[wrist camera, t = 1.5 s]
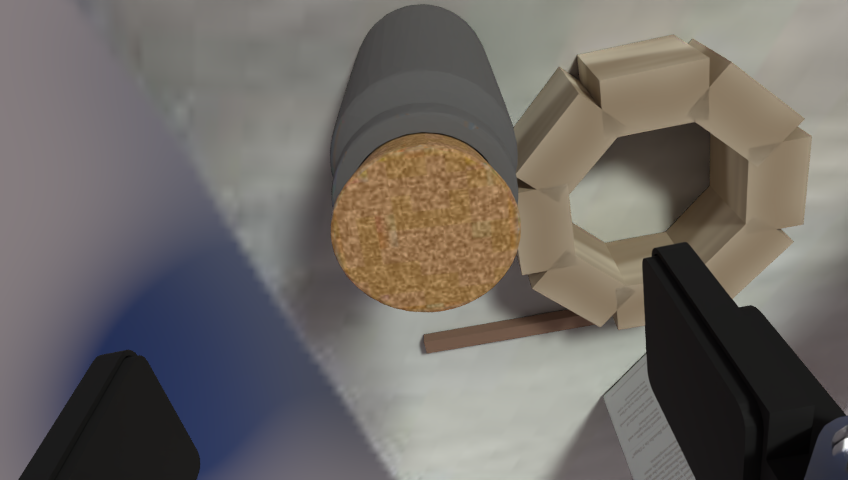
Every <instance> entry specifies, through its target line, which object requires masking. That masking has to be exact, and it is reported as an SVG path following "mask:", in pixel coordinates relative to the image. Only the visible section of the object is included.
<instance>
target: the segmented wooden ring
mask: <svg viewBox="0 0 848 480" xmlns="http://www.w3.org/2000/svg"><path fill="white" fill-rule="evenodd" d="M577 58H578V69H579V80H580V81H579V80H578V79H576V78H575V77H573V76H572V75H571V74H569V73H568V72H566V71H565V70H563V69H562V68H560V67H559V68H558V69H557V70H556V72H555V73H554V74H553V76H552V77H551V78H550V80H549V81H548V82H547V84H546V85H545V86H544V88H543V89H542V90H541V92H540V93H539V94H538V96H537V97H536V98H535V100H534V101H533V102H532V104H531V105H530V106H529V108H528V109H527V110H526V112H525V113H524V114H523V116H522V117H521V118H520V120H519V121H518V122H517V124H516V125H515V126H514V128H513V129H514V132H515V136H516V141H517V151H518V164H517V169H516V177H517V183H518V209H519V214H520V218H521V238H520V242H519V246H518V250H517V257H518V261H519V265H520V269H521V273H522V275H527V274H528V276H529V280H530V283H531V287H532V289H533V290H535V291H537V292H539V293H541V294H542V295H544V296H546V297H548V298H549V299H551V300H553V301H555V302H557V303H558V304H560V305H562V306H564V307H565V308H567V309H569V310H571V311H572V312H574V313H576V314H578V315H580V316H581V317H583V318H585V319H587V320H588V321H590V322H592V323H594V324H596V325H597V326H599V327H601V326H602V325H603V324H604V323H605V322H606V321H607V320H608V319H609V318H610V317H611V316H612V317H613V319H614V321H615V323H616V326H617V328H618V330H621V329H627V328H633V327H639V326H644V325H645V313H644V293H643V272H642V261H643V259H644V258H647V257H652V250H653V249H654V248H656V247H661V246H666V245H671V244H677V243H682V242H687V243H688V244H689V245H690V246H691V247H692V248H693V250H694V251H695V252H696V253H697V255H698V256H699V257H700V259H701V260H702V261H703V262H704V264H705V265H706V266H707V267H708V269H709V270H710V271H711V273H712V274H713V275H714V276H715V278H716V279H717V280H718V282H719V283H720V284H721V285H722V287H723V288H724V289H725V291H726V292H727V293H728V294H729V296H730V297H731V298H732V299H733V298H734V297H735V296H736V295H737V294H738V293H739V292H740V291H741V290H742V289H744V288H745V287H746V286H747V285H748V284H749V283H750V282H751V281H752V280H753V279H754V278H755V277H756V276H758V275H759V274H760V273H761V272H762V271H763V270H764V269H765V268H766V267H767V266H768V265H769V264H770V263H772V262H773V261H774V260H775V259H776V258H777V257H778V256H779V255H780V254H781V253H782V252H783V251H784V250H786V249H787V248H788V247H789V246H790V245H791V244H792V243H793V242H794V241H792V240H791V239H790V238H789V237H788V236H787V235H786V234H785V233H784V232H783V231H782V230H781V228H786V227H792V226H797V225H803V223H804V213H805V202H806V192H807V182H808V171H809V161H810V151H811V141H812V136H811V135H809V134H808V133H806V132H805V131H803V130H802V129H800V128H799V127H797V126H798V125H799V124H800V123H801V122H802V121H803V120H804V118H803V117H802V116H801V115H799V114H798V113H797V112H795V111H794V110H793V109H792V108H790V107H789V106H788V105H786V104H785V103H784V102H783V101H781V100H780V99H779V98H777V97H776V96H775V95H773V94H772V93H771V92H770V91H768V90H767V89H766V88H764V87H763V86H762V85H761V84H759V83H758V82H757V81H755V80H754V79H753V78H752V77H750V76H749V75H748V74H746V73H745V72H744V71H743V70H741V69H740V68H739V67H737V66H736V65H735V64H733V63H732V62H731V61H729V60H727V59H726V58H724V57H722V56H721V55H719V54H717V53H716V52H714V51H713V50H711V49H709V48H708V47H706V46H704V45H703V44H701V43H699V42H698V41H696V40H694V39H692V40H691V41H690V42H689V44H687V43H686V42H684V41H682V40H681V39H679V38H678V37H676V36H675V35H669V36H665V37H660V38H655V39H651V40H646V41H641V42H636V43H632V44H627V45H622V46H618V47H613V48H608V49H603V50H599V51H594V52H589V53H585V54H580V55H577ZM691 122H696V123H697V124H699V125H700V126H702V127H703V128H704V129H706V130H707V131H709V132H710V186H709V187H708V188H707V189H706V190H705V191H704V192H703V193H702V194H701V195H700V196H699V197H698V198H697V200H696V201H695V202H694V203H693V204H692V205H691V206H690V207H689V208H688V209H687V210H686V211H685V212H684V213H683V214H682V215H681V216H680V217H679V218H678V219H677V220H676V222H675V223H674V224H673V225H672V226H671V227H670V228H669V229H668V230H667V231H666V232H662V233H656V234H651V235H646V236H640V237H635V238H629V239H624V240H618V241H613V242H607V243H604V242H603V241H601V240H599V239H598V238H596V237H595V236H593V235H591V234H590V233H588V232H586V231H585V230H583V229H582V228H580V227H578V226H577V225H575V224H573V223H572V219H571V210H570V200H569V194H570V193H571V192H572V191H573V189H574V188H575V187H576V186H577V185H578V184H579V182H580V181H581V180H582V179H583V178H584V176H585V175H586V174H587V173H588V172H589V170H590V169H591V168H592V167H593V166H594V165H595V163H596V162H597V161H598V160H599V159H600V157H601V156H602V155H603V154H604V153H605V151H606V150H607V149H608V148H609V147H610V146H611V144H612V143H613V142H614V141H615V140H616V138H617V137H621V136H626V135H631V134H636V133H641V132H646V131H651V130H656V129H661V128H666V127H671V126H676V125H681V124H686V123H691Z"/></svg>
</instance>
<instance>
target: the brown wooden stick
mask: <svg viewBox="0 0 848 480" xmlns="http://www.w3.org/2000/svg"><path fill="white" fill-rule="evenodd" d="M605 323H606V322H605ZM590 325H595V324H594V323H592V322H590V321H588V320H587V319H585V318H583V317H581V316H580V315H578V314H576V313H574V312H572V311H571V310H569V309H567V310H562V311H556V312H550V313H545V314H539V315H533V316H527V317H522V318H516V319H510V320H505V321H499V322H493V323H487V324H482V325H476V326H470V327H464V328H459V329H453V330H447V331H442V332H436V333H430V334H424V344H425V348H426V352H427V353H432V352H438V351H444V350H450V349H456V348H462V347H467V346H473V345H479V344H485V343H491V342H496V341H502V340H508V339H514V338H520V337H526V336H531V335H537V334H543V333H549V332H555V331H560V330H566V329H572V328H578V327H584V326H590Z"/></svg>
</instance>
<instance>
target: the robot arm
mask: <svg viewBox="0 0 848 480" xmlns="http://www.w3.org/2000/svg"><path fill="white" fill-rule="evenodd" d="M642 272H643V293H644V313H645V334H646V354H647V372H648V378H649V382H650V385H651V388H652V391H653V393H654V395H655V397H656V399H657V401H658V403H659V405H660V407H661V409H662V411H663V413H664V416H665V418H666V420H667V422H668V424H669V426H670V428H671V430H672V432H673V434H674V436H675V438H676V440H677V442H678V444H679V446H680V448H681V450H682V452H683V455H684V457H685V459H686V461H687V463H688V465H689V467H690V469H691V471H692V473H693V475H694V477H695V479H696V480H848V416H846V414H845V413H844V412H843V411H842V410H841V408H840V407H839V406H838V405H837V404H836V402H835V401H834V400H833V399H832V397H831V396H830V395H829V394H828V393H827V391H826V390H825V389H824V388H823V387H822V385H821V384H820V383H819V382H818V380H817V379H816V378H815V377H814V376H813V374H812V373H811V372H810V371H809V370H808V368H807V367H806V366H805V365H804V363H803V362H802V361H801V360H800V359H799V357H798V356H797V355H796V354H795V353H794V351H793V350H792V349H791V348H790V346H789V345H788V344H787V343H786V342H785V340H784V339H783V338H782V337H781V336H780V334H779V333H778V332H777V331H776V329H775V328H774V327H773V326H772V325H771V323H770V322H769V321H768V320H767V319H766V317H765V316H764V315H763V314H762V313H761V312H760V311H759V310H758V309H757V308H756V307H754V306H751V305H750V306H745V307H738V306H737V305H736V303H735V302H734V301H733V300H732V298H731V297H730V296H729V294H728V293H727V292H726V291H725V289H724V288H723V287H722V285H721V284H720V283H719V282H718V280H717V279H716V278H715V276H714V275H713V274H712V273H711V271H710V270H709V269H708V267H707V266H706V265H705V264H704V262H703V261H702V260H701V259H700V257H699V256H698V255H697V253H696V252H695V251H694V250H693V248H692V247H691V246H690V245H689V244H688V243H687V242H682V243H677V244H671V245H666V246H661V247H656V248H654V249H653V250H652V257H647V258H644V259H643V261H642ZM199 469H200V458H199V454H198V451H197V449H196V447H195V446H194V444H193V442H192V440H191V438H190V437H189V435H188V433H187V431H186V429H185V428H184V426H183V424H182V422H181V420H180V419H179V417H178V415H177V413H176V411H175V410H174V408H173V406H172V404H171V403H170V401H169V399H168V397H167V395H166V394H165V392H164V390H163V388H162V386H161V385H160V383H159V381H158V379H157V377H156V376H155V374H154V372H153V370H152V368H151V367H150V365H149V363H148V361H147V360H146V359H145V357H143V356H140V355H139V356H137V354H136V353H135V352H133V351H131V350H125V351H119V352H114V353H109V354H104V355H100V356H98V357H96V359H95V360H94V361H93V363H92V364H91V366H90V367H89V369H88V370H87V372H86V374H85V375H84V377H83V378H82V380H81V382H80V383H79V385H78V386H77V388H76V389H75V391H74V393H73V394H72V396H71V397H70V399H69V401H68V402H67V404H66V405H65V407H64V408H63V410H62V412H61V413H60V415H59V416H58V418H57V419H56V421H55V423H54V425H53V426H52V428H51V429H50V431H49V432H48V434H47V435H46V437H45V439H44V440H43V442H42V443H41V445H40V446H39V448H38V450H37V451H36V453H35V454H34V456H33V458H32V459H31V461H30V462H29V464H28V465H27V467H26V469H25V470H24V472H23V473H22V475H21V476H20V478H19V480H196V479H197V476H198V473H199Z"/></svg>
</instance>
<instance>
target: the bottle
mask: <svg viewBox="0 0 848 480" xmlns="http://www.w3.org/2000/svg"><path fill="white" fill-rule="evenodd" d="M330 161H331V172H332V176H333V183H332V191H331V192H332V207H333V212H332V217H331V240H332V245H333V250H334V253H335V256H336V258H337V260H338V262H339V264H340V266H341V268H342V269H343V271H344V272H345V274H346V276H347V277H348V278H349V279H350V280H351V281H352V282H353V283H354V284H355V285H356V286H357V287H358V288H359V289H360V290H362V291H363V292H364V293H366V294H367V295H368V296H370V297H371V298H373V299H375V300H377V301H379V302H381V303H383V304H385V305H388V306H390V307H393V308H397V309H402V310H406V311H414V312H438V311H444V310H449V309H453V308H457V307H460V306H463V305H465V304H467V303H469V302H471V301H473V300H475V299H477V298H479V297H481V296H482V295H484V294H485V293H487V292H488V291H489V290H491V289H492V288H493V287H494V286H495V285H496V284H497V283H498V282H499V281H500V280H501V279H502V277H503V276H504V275H505V274H506V272H507V271H508V269H509V268H510V266H511V265H512V263H513V260H514V258H515V256H516V253H517V250H518V246H519V242H520V238H521V218H520V214H519V209H518V183H517V177H516V169H517V164H518V151H517V141H516V136H515V132H514V129H513V125H512V122H511V119H510V117H509V114H508V111H507V108H506V105H505V102H504V100H503V97H502V95H501V92H500V89H499V87H498V84H497V82H496V79H495V76H494V74H493V71H492V68H491V66H490V63H489V61H488V58H487V55H486V53H485V51H484V48H483V46H482V44H481V42H480V40H479V38H478V37H477V35H476V33H475V32H474V31H473V29H472V28H471V27H470V26H469V25H468V24H467V23H466V21H464V20H463V19H462V18H460V17H459V16H458V15H456V14H454V13H453V12H451V11H449V10H446V9H444V8H441V7H437V6H432V5H411V6H406V7H403V8H400V9H397V10H395V11H393V12H391V13H389V14H387V15H386V16H384V17H383V18H382V19H381V20H380V21H378V22H377V23H376V24H375V25H374V26H373V27H372V29H371V30H370V31H369V32H368V34H367V35H366V37H365V39H364V41H363V43H362V45H361V47H360V49H359V52H358V55H357V58H356V61H355V64H354V67H353V70H352V73H351V76H350V79H349V82H348V85H347V88H346V91H345V95H344V98H343V101H342V104H341V108H340V111H339V114H338V117H337V120H336V124H335V128H334V131H333V135H332V142H331V148H330Z"/></svg>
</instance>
